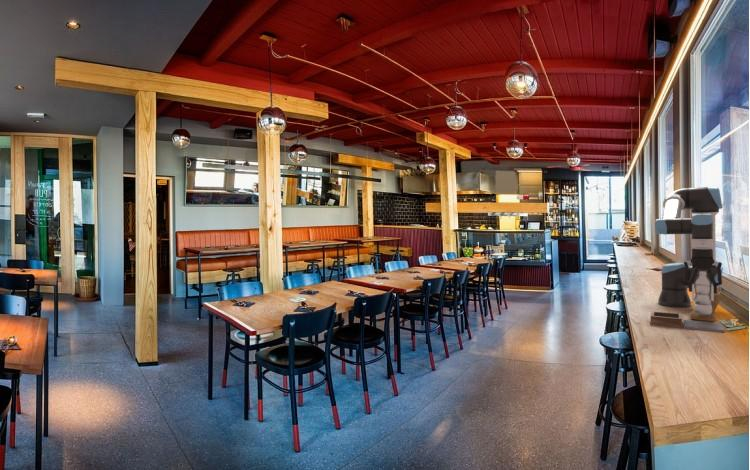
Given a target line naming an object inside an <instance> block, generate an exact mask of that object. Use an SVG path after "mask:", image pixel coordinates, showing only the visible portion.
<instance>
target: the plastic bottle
mask: <svg viewBox="0 0 750 470" xmlns="http://www.w3.org/2000/svg"><path fill="white" fill-rule="evenodd" d="M697 274H698V276H697V277H696V278H695V280H694V305H693V310H694V312H695V313H696V314H700V315H710V314H711V313H712V306H711V299H710V294H711V286H712V282H711V280H710V278H709V277H708V276H707V275H708V271H707V270H698V273H697Z"/></svg>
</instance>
